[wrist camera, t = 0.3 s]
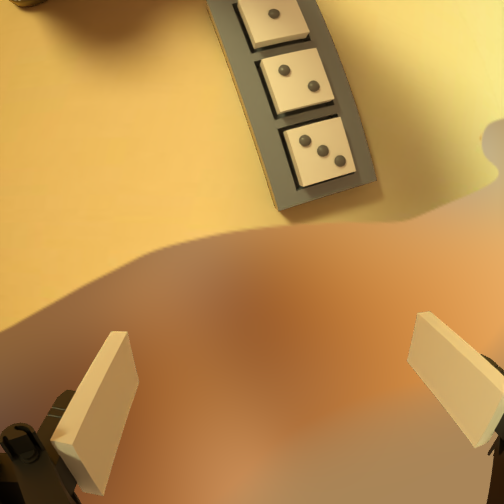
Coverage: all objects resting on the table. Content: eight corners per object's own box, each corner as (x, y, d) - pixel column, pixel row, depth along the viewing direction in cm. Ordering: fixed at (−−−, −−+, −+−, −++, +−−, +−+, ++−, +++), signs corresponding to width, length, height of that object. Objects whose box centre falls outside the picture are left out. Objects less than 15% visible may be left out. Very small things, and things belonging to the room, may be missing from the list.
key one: (237, 6, 28) (237, -3, 26) (287, -4, 28) (291, -13, 26) (253, 48, 30) (255, 42, 28) (305, 38, 30) (310, 31, 28)
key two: (259, 64, 30) (261, 58, 28) (311, 53, 30) (316, 47, 28) (277, 114, 32) (280, 111, 30) (328, 101, 32) (335, 98, 30)
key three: (283, 132, 33) (286, 130, 31) (334, 118, 33) (341, 116, 30) (299, 185, 34) (304, 186, 32) (349, 170, 34) (356, 171, 32)
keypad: (207, 10, 30) (206, -1, 28) (300, -9, 30) (305, -20, 27) (274, 207, 38) (278, 211, 35) (366, 178, 38) (376, 180, 35)
